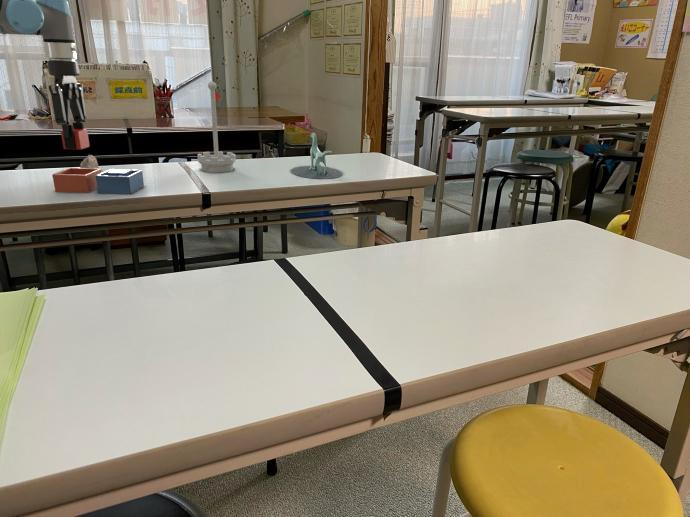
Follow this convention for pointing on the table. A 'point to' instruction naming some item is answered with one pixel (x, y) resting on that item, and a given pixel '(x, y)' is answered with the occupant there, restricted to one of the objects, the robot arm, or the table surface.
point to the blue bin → (119, 182)
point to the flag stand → (215, 143)
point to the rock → (90, 163)
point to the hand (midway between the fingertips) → (76, 146)
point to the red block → (79, 138)
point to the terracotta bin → (76, 180)
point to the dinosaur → (316, 165)
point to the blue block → (120, 172)
